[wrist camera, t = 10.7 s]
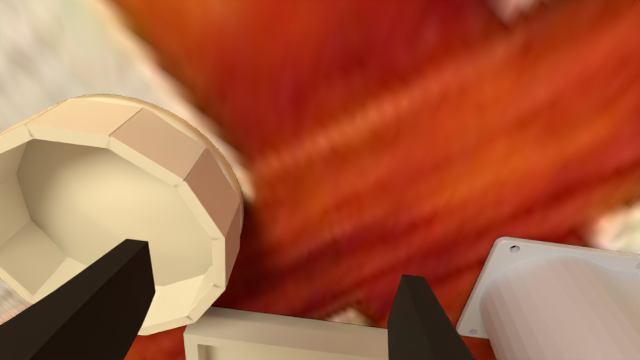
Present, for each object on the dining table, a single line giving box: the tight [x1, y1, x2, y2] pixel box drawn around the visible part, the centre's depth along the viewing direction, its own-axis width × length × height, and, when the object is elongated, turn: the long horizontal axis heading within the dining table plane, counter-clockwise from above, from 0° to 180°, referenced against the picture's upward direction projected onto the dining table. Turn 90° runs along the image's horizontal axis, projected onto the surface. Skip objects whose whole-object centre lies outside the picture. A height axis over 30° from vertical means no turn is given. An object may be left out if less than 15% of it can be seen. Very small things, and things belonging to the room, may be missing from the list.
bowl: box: [0, 94, 244, 335], centre depth 20 cm, size 12×12×4 cm
